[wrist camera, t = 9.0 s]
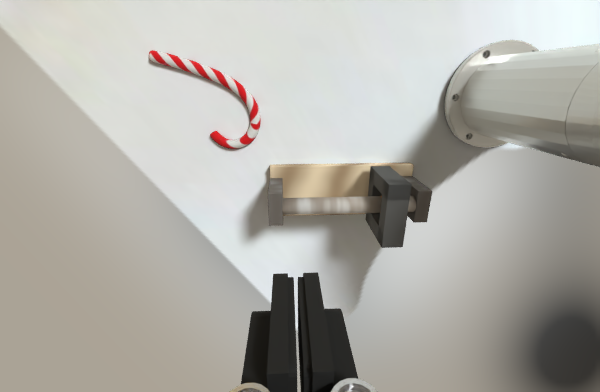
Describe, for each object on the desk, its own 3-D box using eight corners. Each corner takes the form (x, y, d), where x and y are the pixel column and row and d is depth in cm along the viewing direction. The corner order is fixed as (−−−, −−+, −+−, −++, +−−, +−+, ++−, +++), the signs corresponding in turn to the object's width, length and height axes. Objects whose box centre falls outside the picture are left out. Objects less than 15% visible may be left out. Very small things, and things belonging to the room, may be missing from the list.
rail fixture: (409, 162, 40) (434, 178, 33) (403, 209, 42) (424, 233, 36) (270, 164, 39) (267, 181, 32) (272, 212, 41) (269, 236, 35)
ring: (389, 165, 37) (411, 184, 30) (382, 219, 40) (402, 246, 33) (370, 166, 37) (389, 184, 30) (365, 219, 40) (381, 247, 33)
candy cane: (160, 25, 32) (274, 109, 35) (164, 27, 33) (274, 108, 37) (129, 87, 34) (240, 159, 38) (135, 87, 35) (241, 157, 39)
